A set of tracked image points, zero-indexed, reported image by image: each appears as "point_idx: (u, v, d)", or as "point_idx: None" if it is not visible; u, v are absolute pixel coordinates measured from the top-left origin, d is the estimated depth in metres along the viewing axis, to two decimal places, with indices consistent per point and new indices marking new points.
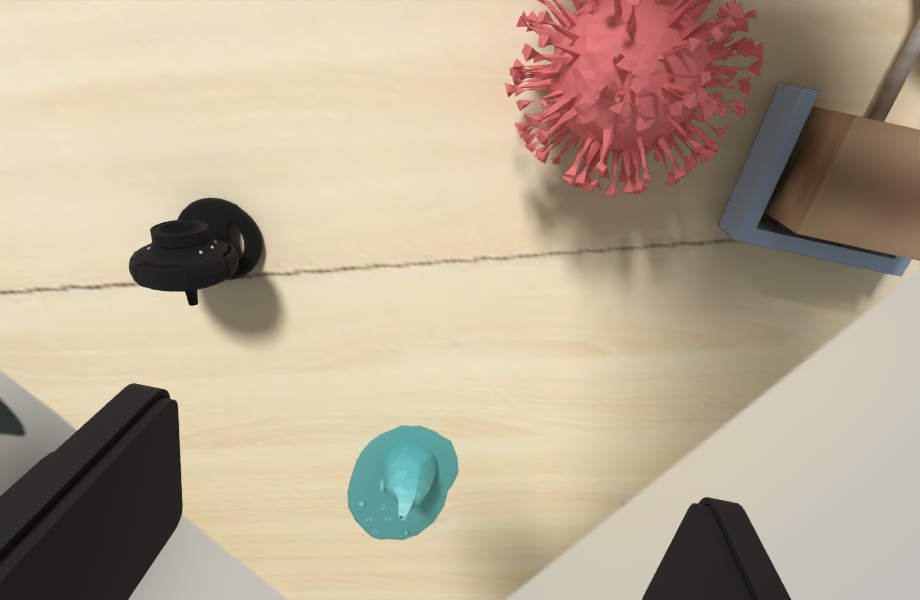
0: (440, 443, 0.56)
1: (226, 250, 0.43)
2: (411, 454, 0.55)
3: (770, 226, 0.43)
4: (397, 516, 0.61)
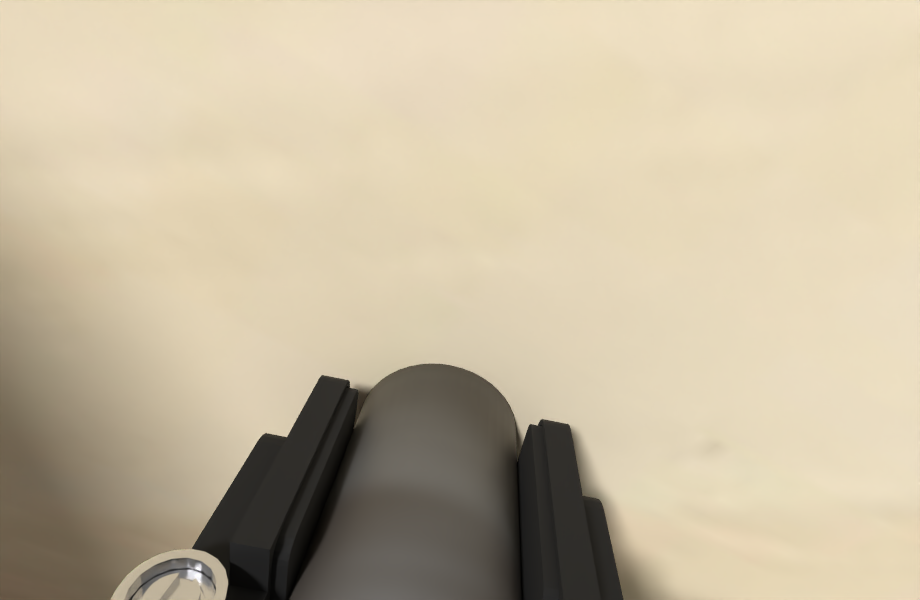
0: None
1: None
2: None
3: None
4: None
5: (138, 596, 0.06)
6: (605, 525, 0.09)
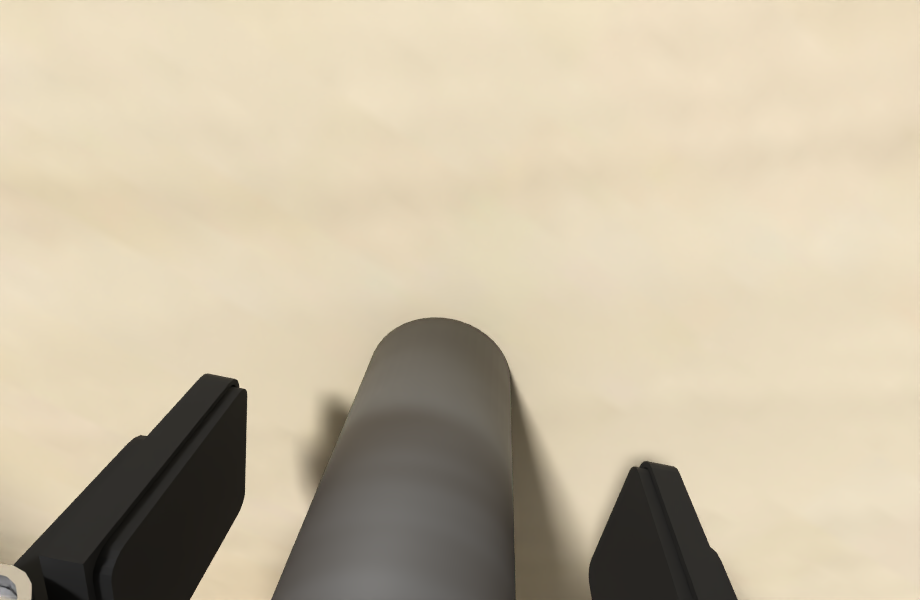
0: None
1: None
2: None
3: None
4: None
5: None
6: (725, 579, 0.09)
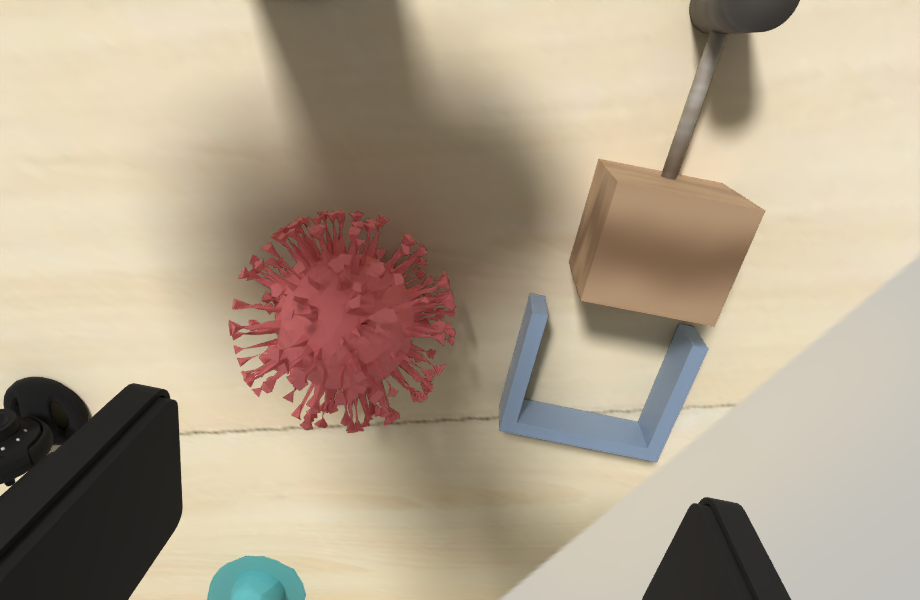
0: (284, 571, 0.59)
1: (34, 439, 0.46)
2: (253, 584, 0.58)
3: (540, 412, 0.46)
4: None
5: None
6: None
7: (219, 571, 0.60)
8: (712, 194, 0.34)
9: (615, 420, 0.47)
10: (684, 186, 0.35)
